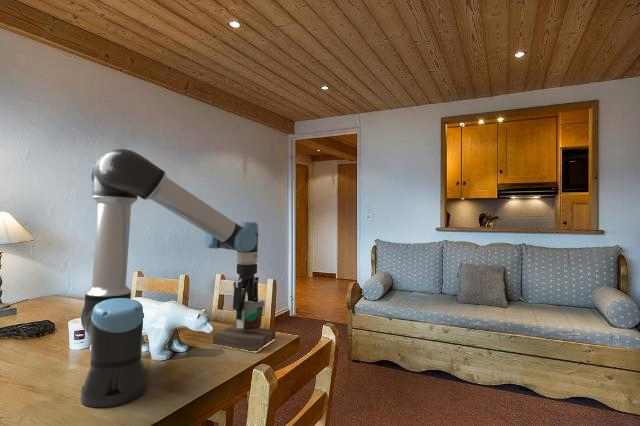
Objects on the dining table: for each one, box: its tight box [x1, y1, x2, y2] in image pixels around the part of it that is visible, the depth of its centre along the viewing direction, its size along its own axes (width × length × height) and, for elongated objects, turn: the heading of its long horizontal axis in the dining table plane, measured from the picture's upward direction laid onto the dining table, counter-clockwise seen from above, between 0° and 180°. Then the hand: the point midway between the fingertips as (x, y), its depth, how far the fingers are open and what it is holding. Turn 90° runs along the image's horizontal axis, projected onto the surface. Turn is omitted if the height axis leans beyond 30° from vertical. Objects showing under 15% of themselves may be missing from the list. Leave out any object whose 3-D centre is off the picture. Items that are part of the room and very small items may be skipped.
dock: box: [212, 324, 277, 351], centre depth 133 cm, size 14×18×4 cm
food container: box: [235, 300, 266, 330], centre depth 133 cm, size 12×6×10 cm, turn 73°
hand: (245, 325), depth 133 cm, fingers closed on food container, 6 cm apart
